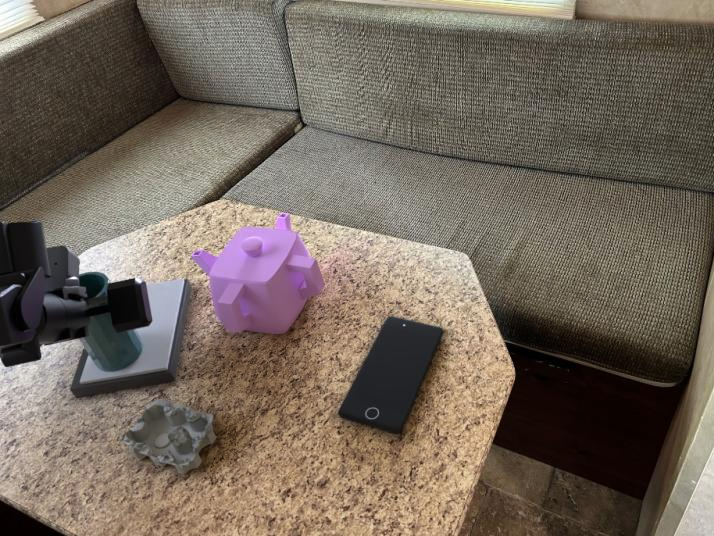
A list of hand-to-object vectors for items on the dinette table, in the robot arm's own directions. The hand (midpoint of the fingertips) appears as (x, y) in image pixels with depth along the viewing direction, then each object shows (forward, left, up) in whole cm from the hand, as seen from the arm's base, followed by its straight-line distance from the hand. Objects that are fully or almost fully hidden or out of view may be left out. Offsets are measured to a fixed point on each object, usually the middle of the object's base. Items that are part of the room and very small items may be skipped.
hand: (96, 316), depth 83 cm
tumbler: (0, 0, -8) cm, 8 cm away
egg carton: (+10, -15, -11) cm, 21 cm away
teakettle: (+21, +9, -11) cm, 25 cm away
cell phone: (+39, -10, -10) cm, 42 cm away
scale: (+1, +5, -10) cm, 12 cm away
